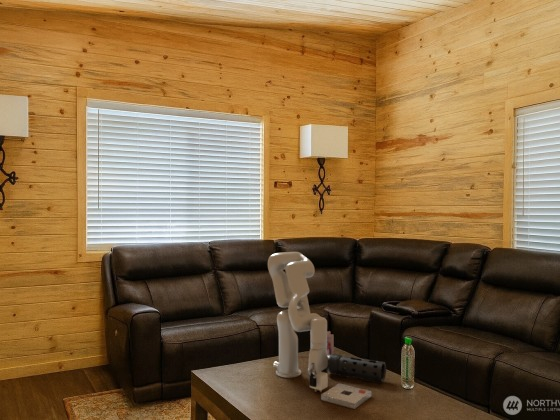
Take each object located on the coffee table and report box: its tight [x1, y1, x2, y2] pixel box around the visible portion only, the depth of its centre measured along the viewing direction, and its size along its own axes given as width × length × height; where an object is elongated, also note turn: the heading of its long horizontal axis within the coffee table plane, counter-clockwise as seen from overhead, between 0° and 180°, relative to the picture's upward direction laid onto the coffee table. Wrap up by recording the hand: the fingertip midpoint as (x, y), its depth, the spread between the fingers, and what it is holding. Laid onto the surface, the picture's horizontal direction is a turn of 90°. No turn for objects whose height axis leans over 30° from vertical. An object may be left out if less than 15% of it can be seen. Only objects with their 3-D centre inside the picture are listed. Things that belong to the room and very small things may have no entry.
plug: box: [307, 371, 329, 393], centre depth 225 cm, size 8×6×8 cm
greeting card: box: [327, 330, 335, 355], centre depth 267 cm, size 11×7×15 cm, turn 81°
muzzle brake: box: [327, 353, 387, 384], centre depth 241 cm, size 10×28×10 cm, turn 62°
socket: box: [320, 383, 372, 410], centre depth 217 cm, size 16×16×3 cm
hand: (318, 382), depth 225 cm, fingers open, 9 cm apart
